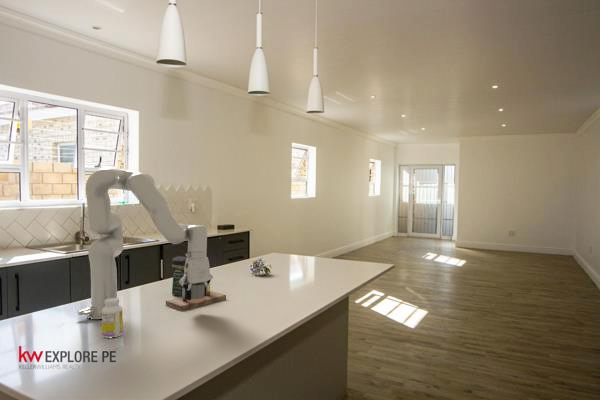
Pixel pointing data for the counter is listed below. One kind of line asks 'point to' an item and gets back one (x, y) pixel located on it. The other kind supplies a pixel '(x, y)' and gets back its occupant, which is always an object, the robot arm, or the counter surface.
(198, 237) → the robot arm
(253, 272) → the passion flower
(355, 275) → the counter surface
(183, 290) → the pins
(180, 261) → the coffee jar
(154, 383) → the counter surface
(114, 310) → the supplement bottle
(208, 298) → the pin board
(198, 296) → the sleeve
